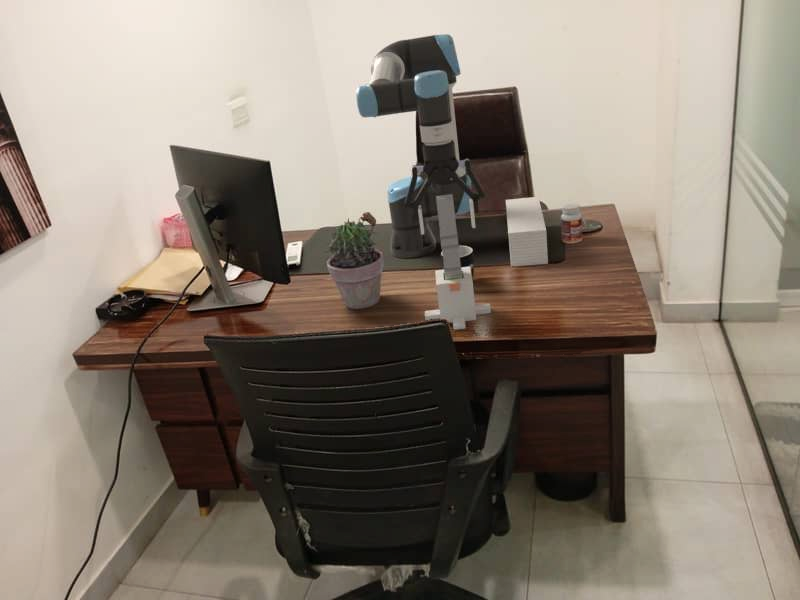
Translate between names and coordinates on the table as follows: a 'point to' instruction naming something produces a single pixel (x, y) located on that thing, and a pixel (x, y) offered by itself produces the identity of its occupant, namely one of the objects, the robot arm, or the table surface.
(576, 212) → the pill bottle
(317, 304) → the table surface
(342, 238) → the potted plant
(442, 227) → the post
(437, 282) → the housing
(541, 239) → the stack of papers
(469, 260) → the mug
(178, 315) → the table surface
